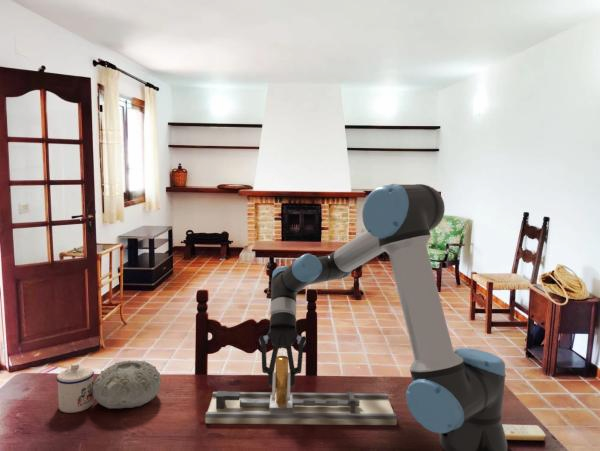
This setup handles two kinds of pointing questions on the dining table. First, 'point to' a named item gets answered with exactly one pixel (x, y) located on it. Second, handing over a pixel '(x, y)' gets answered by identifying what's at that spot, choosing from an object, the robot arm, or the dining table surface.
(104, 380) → the grey rounded lump
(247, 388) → the dining table surface
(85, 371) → the teacup with lid
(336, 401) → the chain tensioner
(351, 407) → the rail
